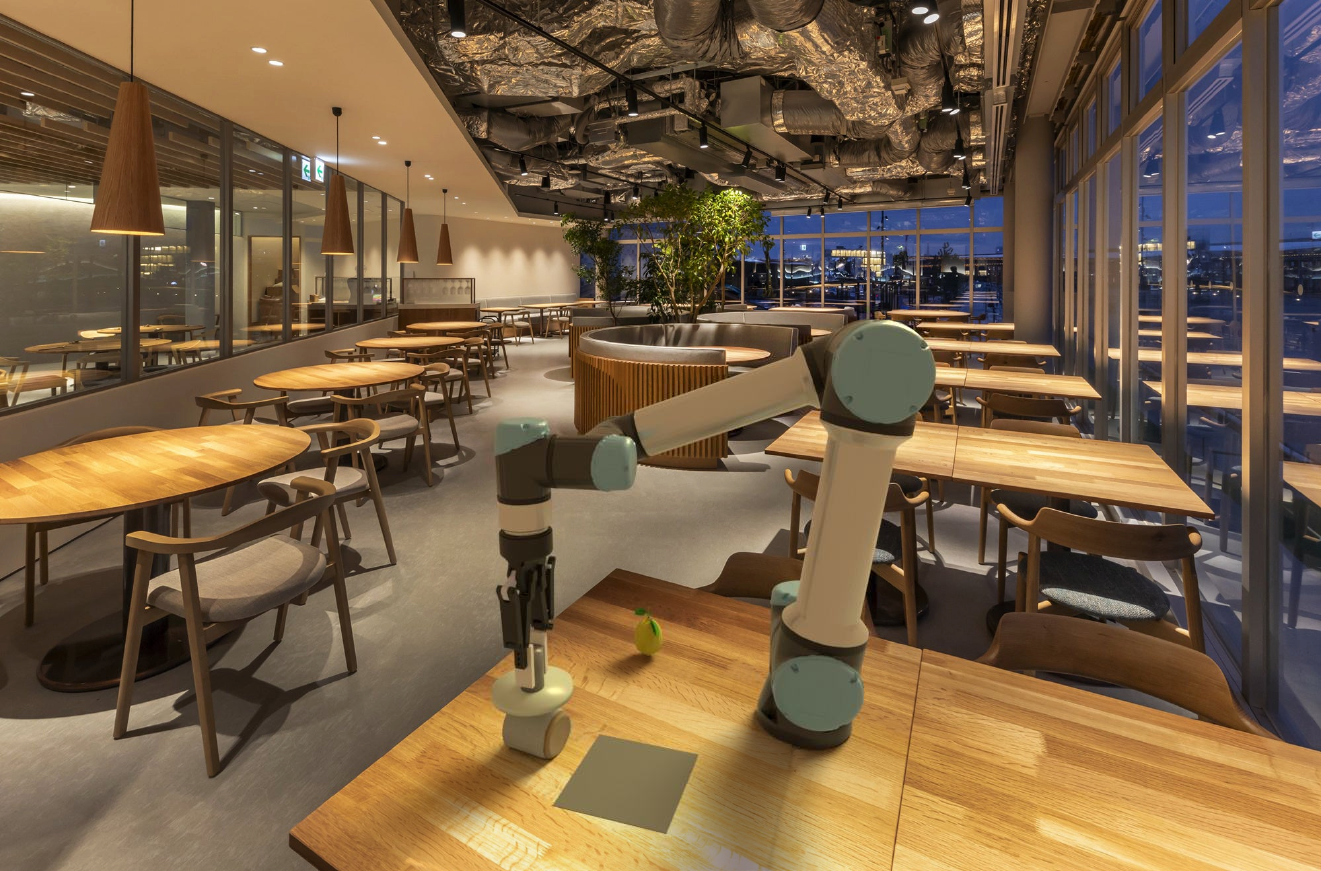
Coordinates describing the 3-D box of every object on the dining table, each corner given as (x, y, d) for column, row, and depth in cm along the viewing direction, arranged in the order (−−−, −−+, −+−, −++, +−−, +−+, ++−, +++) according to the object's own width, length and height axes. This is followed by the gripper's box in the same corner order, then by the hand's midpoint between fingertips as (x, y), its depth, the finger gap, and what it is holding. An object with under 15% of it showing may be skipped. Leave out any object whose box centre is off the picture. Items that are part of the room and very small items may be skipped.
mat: (698, 757, 100) (698, 754, 100) (666, 836, 85) (666, 833, 85) (599, 737, 105) (599, 734, 104) (552, 808, 90) (552, 805, 90)
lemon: (634, 646, 133) (634, 598, 131) (664, 647, 132) (664, 600, 130) (630, 663, 126) (629, 614, 124) (661, 665, 126) (660, 615, 124)
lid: (586, 678, 103) (585, 636, 102) (551, 723, 92) (549, 677, 91) (517, 665, 107) (515, 625, 106) (475, 708, 96) (472, 663, 94)
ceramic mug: (547, 772, 97) (546, 723, 95) (501, 756, 100) (499, 709, 99) (585, 731, 106) (584, 687, 105) (542, 718, 110) (540, 675, 108)
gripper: (530, 508, 104) (536, 648, 108) (469, 543, 88) (479, 704, 93) (574, 512, 101) (578, 655, 106) (519, 549, 86) (527, 714, 90)
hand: (532, 678), depth 99 cm, fingers closed on lid, 3 cm apart
